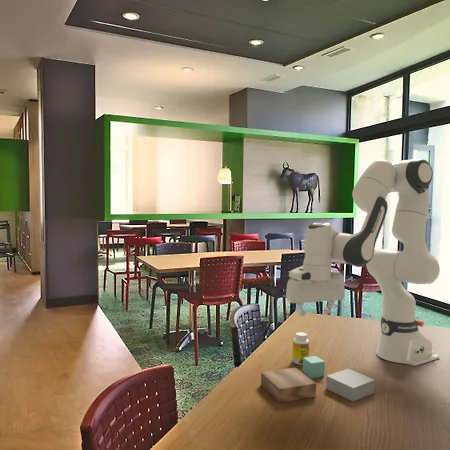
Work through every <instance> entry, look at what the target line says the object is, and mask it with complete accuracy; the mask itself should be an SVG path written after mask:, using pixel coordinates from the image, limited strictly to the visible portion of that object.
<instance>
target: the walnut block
mask: <svg viewBox="0 0 450 450" xmlns="http://www.w3.org/2000/svg"><path fill="white" fill-rule="evenodd" d="M260 386H262V388H263V389H264V390H266V391H267V393H268V394H270V396H272V398H273V399H275V401H277V403H280V404H281V403H286V402H287V403H288V402H292V401H293V402H294V401H298V400H303V399H309V398H315V397H317V383H316V381H313V379H312V378H310V377H309V376H307V375H306V374H305V373H303V371H301V370H300V369H298V368H297V367H290V368H284V369H275V370H270V371H263V372H262V371H261V374H260Z"/></svg>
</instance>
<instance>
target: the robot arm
mask: <svg viewBox="0 0 450 450" xmlns="http://www.w3.org/2000/svg"><path fill="white" fill-rule="evenodd" d="M433 173H434V171H433V168H432V166H431V164H430V163H429V161H427V160H426V159H423V158H413V159H405V160H399V161H397V162H390V161H388V160H386V159H376V160H375V161H373V162H371V163H370V165H369V166H368V167H367V168H366V169H365V170H364V172H362V174H361V176H360V177H359V178H358V180H357V182H356V183H355V185H354V187H353V189H352V194H351V195H352V200H353V202H354V204H355V206H357V207H358V208H359V209H360V210H361V211H363V212H365V213H366V216H365V219H364V222H363V224H362V226H361V229H360V231H359V232H356V233H353V234H352V233H346V232H340V231H339V230H336V229H335V228H333V227H332V225H331V223H329V222H325V221H321V222H318V221H317V222H313V223H310V224H309V225H307V227H306V230H305V234H304V244H303V252H304V260H303V265H301V266H298V267H296V268H293V269H291V270H289V272H288V276H289V279H288V280H287V284H286V290H285V291H286V293H285V299H286V301H288V302H289V303H291V304H295V305H296V307H297V309H298V315H299V316H300V317H305V316H306V315H307V314H306V313H307V310H305V309H304V308H303V307H304V303H316V302H326V303H328V304H327V305H326V307H324V308H323V313H324V314H325V315H331V314H332V308H333V307H334V305H335V301H343V300H344V298H345V295H346V294H345V283H344V281H345V276H344V274H343V273H342V272H341V271H332V261H333V262H338V263H342V264H343V263H344V264H347V265H349V266H353V267H356V268H361V267H364V266H366V270H367V272H368V273H369V274H370V276H372V277H373V278H374V279H375V281H376V283H377V284H378V286H379V288H380V291H381V296H382V315H381V317H380V318H381V319H380V328H381V329H380V335H379V340H378V345H377V349H376V352H375V355H376V356H378V357H379V358H381V359H383V360H385V361H387V362H388V361H389V362H392V363H397V364H406V365H409V366H419V365H422V364H425V363H428V362H432V361H435V360H439V359H440V355H439V354H438V353H437V352H435V351H434V350H433V343H432V340H431V339H430V338H429V337H428V336H427V335H425V334H424V333H423V332H421V331H420V330H419V327H421V328H422V327H424V325H425V322H424V321H423V320H419V319H418V320H417V319H416V307H417V306H416V305H417V304H416V303H417V302H416V299H415V297H414V295H413V294H411V292H409V291H408V290H407V289H405V287H404V286H403V283H408V284H415V285H431V284H433V283H434V282H435V281H437V279H438V277H439V275H440V271H441V269H440V264H439V262H438V260H437V258H436V257H434V256H433V254H432V253H430V251H429V249H428V247H427V244H426V238H425V237H426V226H427V220H428V214H429V207H430V206H429V205H430V204H429V203H430V201H429V200H430V199H429V192H428V189H429V187H430V185H431V183H432V180H433V177H434V176H433V175H434V174H433ZM389 193H397V194H398V200H397V201H398V202H397V204H396V208H395V212H394V217H393V223H392V228H391V233H392V236H393V237H394V238H396V240H397V241H399V242H400V243H402V245H403V250H397V249H396V250H394V249H386V248H385V249H375V247H376V243H377V240H378V237H379V235H380V231H381V230H382V227H383V224H384V221H385V219H386V216H387V212H388V208H389V207H388V202H387V200H386V199H387V196H388V194H389ZM402 282H403V283H402Z"/></svg>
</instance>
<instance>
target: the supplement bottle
mask: <svg viewBox="0 0 450 450" xmlns="http://www.w3.org/2000/svg"><path fill="white" fill-rule="evenodd" d="M309 353H310V340H309V339H308V334H307V333H306V332H303V331H302V332H301V331H300V332H296V333H295V338H293V340H292V359H291V361H292V362H293V363H294V364H295V365H301V366H303V358H305V357H310V356H309Z"/></svg>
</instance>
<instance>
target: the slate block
mask: <svg viewBox="0 0 450 450" xmlns="http://www.w3.org/2000/svg"><path fill="white" fill-rule="evenodd" d="M325 381H326V382H325V389H326V390H327V391H330V392H333V393H335V394H336V395H339V396H340V397H342V398H344V399H347V400H349V401H350V402H355V401H357V400H360V399H364V398H365V397H368V396H371V395H372V394H375V384H376V383H375V382H376V381H375V379H373V378H372V377H369V376H366V375H364V374H362V373H359V372H357V371H355V370H352V369H351V368H345V369H342V370H340V371H336V372H333V373H330V374H327V375H326V380H325Z"/></svg>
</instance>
